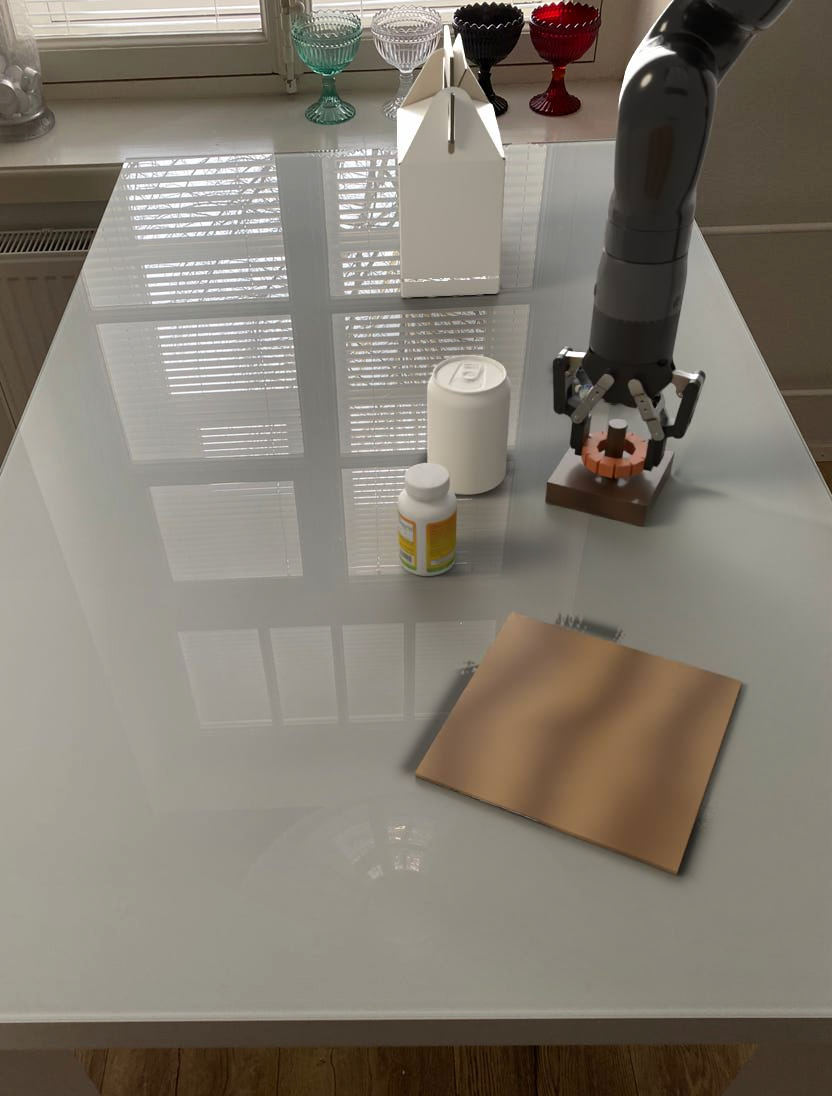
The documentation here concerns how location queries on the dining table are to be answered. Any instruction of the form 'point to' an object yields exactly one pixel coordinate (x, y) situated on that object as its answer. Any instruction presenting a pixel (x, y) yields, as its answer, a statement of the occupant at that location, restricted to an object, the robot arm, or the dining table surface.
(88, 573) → the dining table surface
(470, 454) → the beverage can
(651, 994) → the dining table surface
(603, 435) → the ring
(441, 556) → the supplement bottle
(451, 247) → the gable box
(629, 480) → the peg stand
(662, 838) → the wooden board
